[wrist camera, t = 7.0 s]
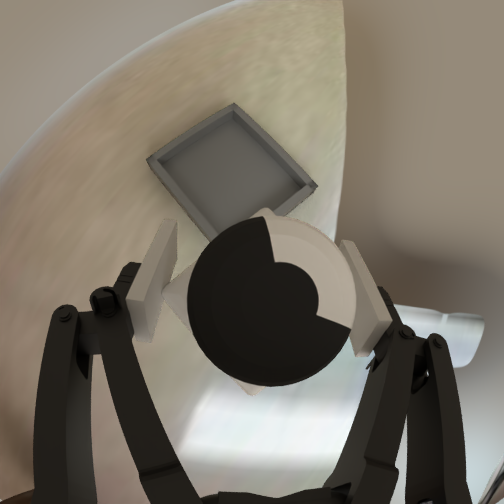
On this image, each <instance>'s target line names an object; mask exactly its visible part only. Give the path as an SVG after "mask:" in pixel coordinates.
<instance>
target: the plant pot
mask: <svg viewBox="0 0 504 504" xmlns="http://www.w3.org/2000/svg"><path fill="white" fill-rule="evenodd" d="M33 492H34V489H33V490H30V491H27V492H24V493H21V494H18V495H15V496H13V497H10V498H8V499H6V500H3V501H1V502H0V504H31V500H32V496H33Z"/></svg>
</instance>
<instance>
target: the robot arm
mask: <svg viewBox="0 0 504 504" xmlns="http://www.w3.org/2000/svg"><path fill="white" fill-rule="evenodd" d="M339 250H340V251H341V252H342V254H343V256H344V257H345V259H346V261H347V263H348V265H349V267H350V270H351V272H352V275H353V279H354V283H355V290H356V312H355V319H354V322H353V326H352V329H351V332H350V334H349V337H350V340H351V343H352V347H353V350H354V354H355V357H367V356H369V355H370V353H371V352H372V350H374V353H375V356H374V358H373V359H372V360H371V362H370V363H369V364H368V366H367V367H366V369H368V368H369V367H370V370H369V373H368V377H367V380H366V384H365V387H364V391H363V394H362V397H361V400H360V403H359V407H358V410H357V413H356V416H355V418H354V421H353V424H352V427H351V430H350V432H349V435H348V438H347V440H346V443H345V445H344V448H343V450H342V453H341V455H340V458H339V460H338V462H337V465H336V467H335V469H334V471H333V473H332V474H331V475H330V477H329V478H328V479H327V480H326V482H325V483H324V485H323V487H322V488H317V489H308V490H303V491H300V492H297V493H294V494H291V495H287V496H284V497H280V498H272V497H266V496H261V495H257V494H252V493H246V492H220V491H219V492H218V494H213V495H208V496H205V497H202V498H200V497H199V496H198V494H197V492H196V491H195V489H194V487H193V485H192V484H191V482H190V480H189V478H188V476H187V475H186V473H185V471H184V469H183V467H182V465H181V463H180V461H179V459H178V457H177V455H176V453H175V451H174V449H173V447H172V445H171V443H170V441H169V439H168V437H167V434H166V432H165V430H164V428H163V425H162V423H161V421H160V418H159V416H158V414H157V411H156V409H155V406H154V404H153V401H152V399H151V396H150V394H149V391H148V388H147V386H146V383H145V380H144V377H143V374H142V372H141V369H140V366H139V363H138V360H137V357H136V353H135V350H134V347H133V344H132V338H133V335H135V339H136V341H142V342H148V343H151V342H152V338H153V335H154V331H155V328H156V324H157V321H158V318H159V314H160V311H161V308H162V304H163V301H164V299H163V297H162V294H161V293H162V289H163V288H164V287H165V286H166V285H167V284H168V283H169V282H170V279H171V276H172V273H173V270H174V267H175V264H176V261H177V220H170V219H164V221H163V222H162V224H161V226H160V228H159V230H158V232H157V234H156V236H155V238H154V240H153V242H152V244H151V246H150V248H149V250H148V252H147V254H146V256H145V258H144V260H143V262H142V263H135V262H129V263H128V264H127V265H126V266H124V267H123V269H122V271H121V273H120V275H119V276H118V278H117V281H116V282H115V284H114V286H113V287H109V286H107V287H101V288H98V289H96V290H95V291H93V292H92V294H91V295H90V300H89V301H90V304H91V307H92V310H93V311H87V312H78V311H77V309H76V307H74V306H73V305H68V304H67V305H62V306H60V307H58V308H57V309H56V310H55V311H54V313H53V315H52V318H51V322H50V326H49V330H48V334H47V339H46V343H45V348H44V353H43V358H42V363H41V369H40V375H39V382H38V389H37V398H36V407H35V419H34V439H33V466H34V485H35V488H34V492H33V496H32V500H31V504H97V493H96V485H95V477H94V467H93V455H92V439H91V381H92V364H93V355H95V354H101V355H102V360H103V364H104V369H105V373H106V377H107V381H108V385H109V388H110V392H111V396H112V399H113V403H114V406H115V409H116V412H117V416H118V419H119V422H120V425H121V428H122V431H123V433H124V436H125V439H126V442H127V444H128V447H129V450H130V452H131V455H132V457H133V460H134V462H135V465H136V467H137V469H138V472H139V479H140V482H141V484H142V487H143V489H144V491H145V493H146V495H147V497H148V499H149V501H150V503H151V504H390V501H391V498H392V496H393V493H394V490H395V486H396V483H397V480H398V475H399V470H398V469H397V468H396V467H395V461H396V457H397V453H398V450H399V445H400V442H401V438H402V433H403V429H404V424H405V419H406V415H407V473H406V487H405V504H472V500H471V496H470V492H469V489H468V485H467V482H466V456H465V441H464V431H463V422H462V414H461V407H460V402H459V396H458V390H457V384H456V379H455V375H454V370H453V365H452V361H451V357H450V353H449V349H448V345H447V343H446V340H445V339H444V338H443V337H442V336H441V335H439V334H436V333H432V334H430V335H429V337H428V338H427V339H425V338H421V337H418V336H416V334H415V332H414V331H413V330H412V329H411V328H410V327H409V326H407V325H404V324H403V323H402V321H401V319H400V317H399V315H398V313H397V311H396V309H395V307H394V304H393V302H392V301H391V299H390V296H389V295H388V293H387V292H386V291H385V290H384V289H383V287H379V286H378V287H377V286H376V284H375V282H374V280H373V278H372V277H371V274H370V272H369V270H368V269H367V267H366V265H365V263H364V261H363V259H362V257H361V255H360V253H359V251H358V250H357V248H356V246H355V244H354V242H353V241H347V240H342V241H341V244H340V247H339ZM427 372H428V374H429V376H427Z"/></svg>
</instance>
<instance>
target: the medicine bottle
mask: <svg viewBox="0 0 504 504" xmlns="http://www.w3.org/2000/svg"><path fill="white" fill-rule="evenodd" d="M161 294H162V297H163V299H164V300H165V301H166V302H167V304H168V305H169V306H170V308H171V309H172V310H173V311H174V313H175V314H176V315H177V316H178V317H179V319H180V320H181V321H182V322H183V324H184V325H185V326H186V327H187V328H188V330H189V331H190V332H191V333H192V334H193V335H194V337H195V339H196V341H197V343H198V345H199V347H200V348H201V350H202V351H203V352H204V354H205V355H206V356H207V358H208V359H209V360H210V361H211V362H212V363H213V364H214V365H215V366H217V367H218V368H219V369H220V370H222V371H223V372H224V373H226V374H228V375H229V376H230V377H231V378H232V379H233V380H234V381H235V382H236V383H237V384H238V385H239V386H240V387H241V388H242V389H243V390H244V391H245V392H246V393H247V394H248V395H250V396H254V395H256V394H258V393H259V392H260V391H261V390H263V389H264V388H265V387H266V386H267V387H275V386H285V385H290V384H294V383H297V382H300V381H303V380H305V379H307V378H309V377H311V376H313V375H315V374H316V373H318V372H319V371H321V370H322V369H323V368H325V367H326V366H327V365H328V364H329V363H330V362H331V361H332V360H333V359H334V358H335V357H336V356H337V354H338V353H339V352H340V351H341V349H342V347H343V346H344V344H345V342H346V341H347V339H348V336H349V334H350V332H351V329H352V326H353V322H354V319H355V312H356V290H355V283H354V279H353V275H352V272H351V270H350V267H349V265H348V263H347V261H346V259H345V257H344V256H343V254H342V252H341V251H340V250H339V249H338V247H337V246H336V245H335V243H334V242H333V241H332V240H330V239H329V238H328V237H327V236H326V235H325V234H324V233H322V232H321V231H320V230H318V229H317V228H315V227H313V226H311V225H310V224H308V223H305V222H303V221H300V220H298V219H294V218H290V217H284V216H276V215H275V214H274V213H273V212H272V211H271V210H270V209H269V208H262V209H260V210H259V211H258V212H257V213H255V214H254V215H253V216H251V217H250V218H249V219H247V220H244V221H241V222H239V223H237V224H235V225H232V226H230V227H229V228H227V229H226V230H224V231H223V232H221V233H220V234H219V235H218V236H216V237H215V238H214V239H213V240H212V241H211V242H210V243H209V244H208V246H207V247H206V248H205V249H204V250H203V252H202V253H201V255H200V257H199V258H198V260H196V261H195V262H194V263H193V264H192V265H190V266H189V267H188V268H187V269H185V270H184V271H183V272H182V273H181V274H179V275H178V276H177V277H176V278H175V279H173V280H172V281H171V282H170V283H168V284H167V285H166V286H165V287H164V288H163V289H162V293H161Z"/></svg>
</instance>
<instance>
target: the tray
mask: <svg viewBox="0 0 504 504" xmlns="http://www.w3.org/2000/svg"><path fill="white" fill-rule="evenodd" d="M146 161H147V163H148V165H149V167H150V169H151V170H152V171H153V172H154V174H155V175H156V176H157V177H158V179H159V180H160V181H161V182H162V184H163V185H164V186H165V187H166V189H167V190H168V191H169V192H170V194H171V195H172V196H173V197H174V199H175V200H176V201H177V202H178V204H179V205H180V206H181V207H182V209H183V210H184V211H185V212H186V213H187V215H188V216H189V217H190V218H191V220H192V221H193V222H194V223H195V224H196V226H197V227H198V228H199V229H200V231H201V232H202V233H203V234H204V235H205V237H206V238H207V239H208V240H209V241H210V242H211V241H212V240H213V239H214V238H215V237H216V236H218V235H219V234H220V233H221V232H223V231H224V230H226V229H227V228H229V227H230V226H232V225H235V224H237V223H239V222H241V221H244V220H247V219H249V218H250V217H251V216H253V215H254V214H255V213H257V212H258V211H259V210H260V209H262V208H269V209H270V210H271V211H272V212H273V213H274V214H275V215H276V216H285V215H287V214H288V213H289V212H290V211H292V210H293V209H294V208H295V207H296V206H298V205H299V204H300V203H301V202H303V201H304V200H305V199H306V198H307V197H309V196H310V195H311V194H312V193H313V192H314V191H315V190H316V188H317V187H318V185H317V184H316V183H315V182H314V181H313V180H312V179H311V178H310V177H309V175H308V174H307V173H306V172H305V171H304V170H303V169H302V168H301V167H300V166H299V165H298V164H297V163H296V162H295V161H294V160H293V159H292V157H291V156H290V155H289V154H288V153H287V152H286V151H285V150H284V149H283V148H282V147H281V146H280V145H279V144H278V143H277V142H276V141H275V140H274V139H273V138H272V137H271V136H270V135H269V134H268V133H267V132H266V131H264V130H263V129H262V128H261V127H260V126H259V125H258V124H257V123H256V122H255V121H254V120H253V119H252V118H251V117H250V116H249V115H248V114H246V113H245V112H244V111H243V110H242V109H241V108H240V107H239V106H238V105H237V104H235V103H233V104H231V105H229V106H227V107H225V108H224V109H222V110H220V111H219V112H217V113H215V114H213V115H212V116H210V117H208V118H207V119H205V120H203V121H202V122H200V123H199V124H197V125H195V126H194V127H192V128H191V129H189V130H188V131H186V132H185V133H183V134H182V135H180V136H178V137H177V138H176V139H174V140H173V141H171V142H170V143H168V144H167V145H165V146H164V147H162V148H161V149H160V150H158V151H157V152H155V153H154V154H153V155H151V156H150V157H148V158H147V159H146Z"/></svg>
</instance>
